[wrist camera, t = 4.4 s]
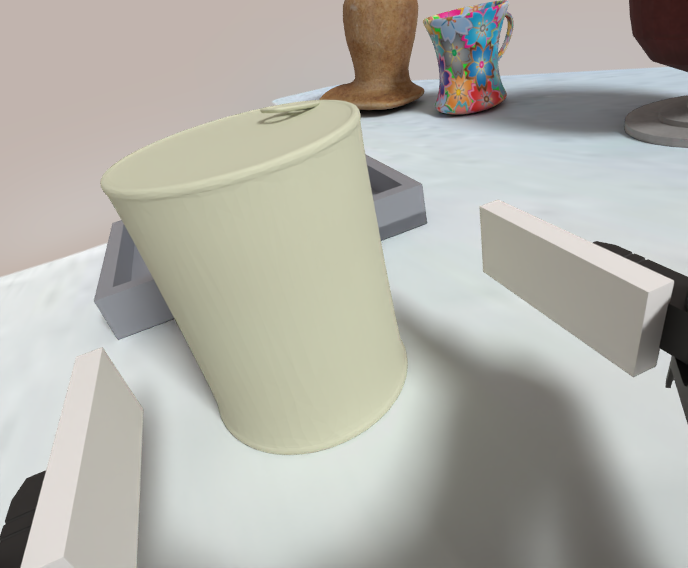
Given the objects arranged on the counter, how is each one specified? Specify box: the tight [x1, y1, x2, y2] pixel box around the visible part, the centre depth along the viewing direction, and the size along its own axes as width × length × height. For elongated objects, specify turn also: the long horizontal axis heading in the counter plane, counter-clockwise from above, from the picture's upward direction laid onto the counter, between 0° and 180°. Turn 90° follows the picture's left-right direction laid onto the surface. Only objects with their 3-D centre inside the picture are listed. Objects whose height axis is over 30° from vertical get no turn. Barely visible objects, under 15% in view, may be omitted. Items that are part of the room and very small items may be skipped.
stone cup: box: [320, 0, 424, 110], centre depth 64 cm, size 15×12×15 cm
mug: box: [423, 0, 513, 114], centre depth 54 cm, size 12×9×11 cm
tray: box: [94, 154, 427, 340], centre depth 35 cm, size 22×14×3 cm, turn 111°
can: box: [100, 100, 407, 455], centre depth 19 cm, size 9×9×12 cm
